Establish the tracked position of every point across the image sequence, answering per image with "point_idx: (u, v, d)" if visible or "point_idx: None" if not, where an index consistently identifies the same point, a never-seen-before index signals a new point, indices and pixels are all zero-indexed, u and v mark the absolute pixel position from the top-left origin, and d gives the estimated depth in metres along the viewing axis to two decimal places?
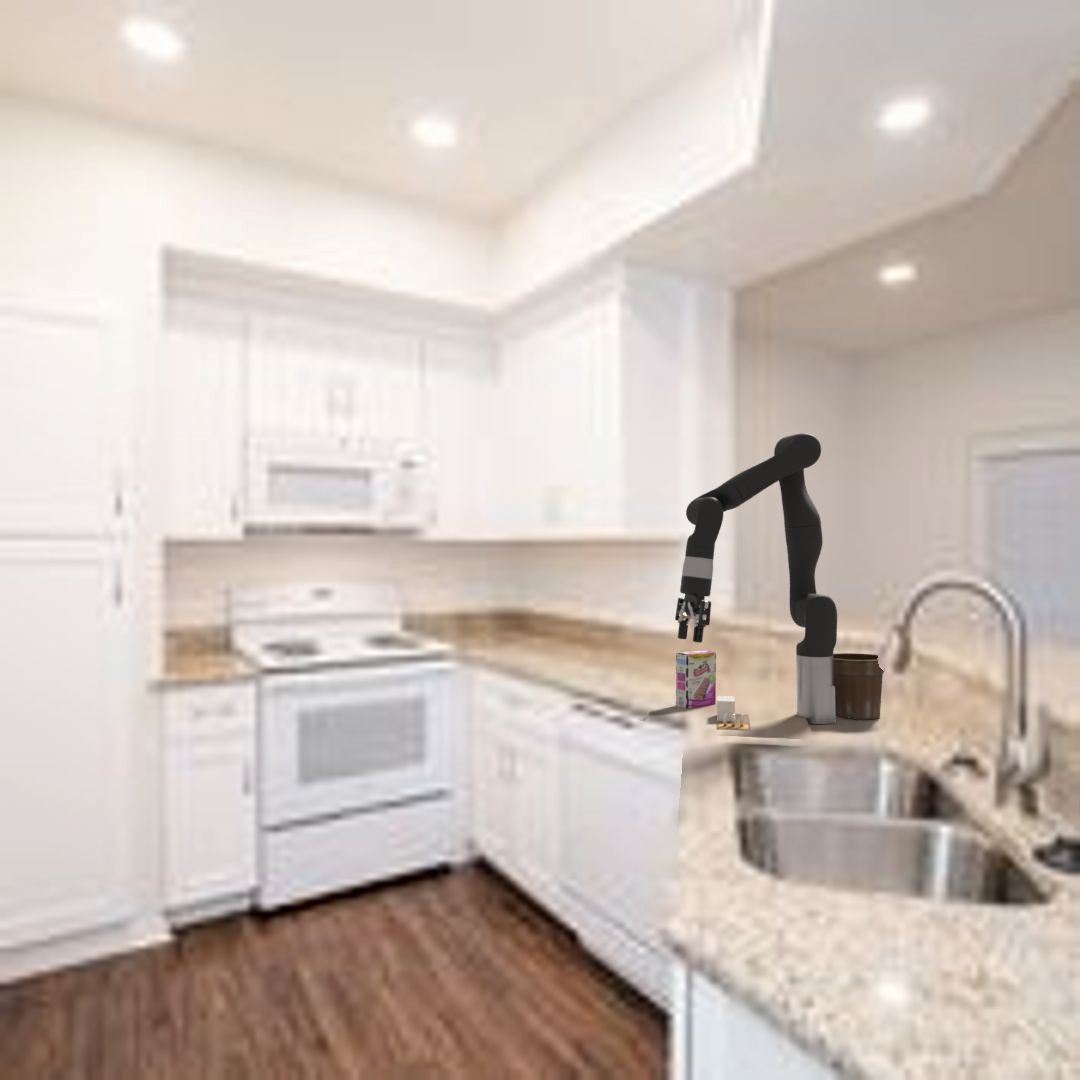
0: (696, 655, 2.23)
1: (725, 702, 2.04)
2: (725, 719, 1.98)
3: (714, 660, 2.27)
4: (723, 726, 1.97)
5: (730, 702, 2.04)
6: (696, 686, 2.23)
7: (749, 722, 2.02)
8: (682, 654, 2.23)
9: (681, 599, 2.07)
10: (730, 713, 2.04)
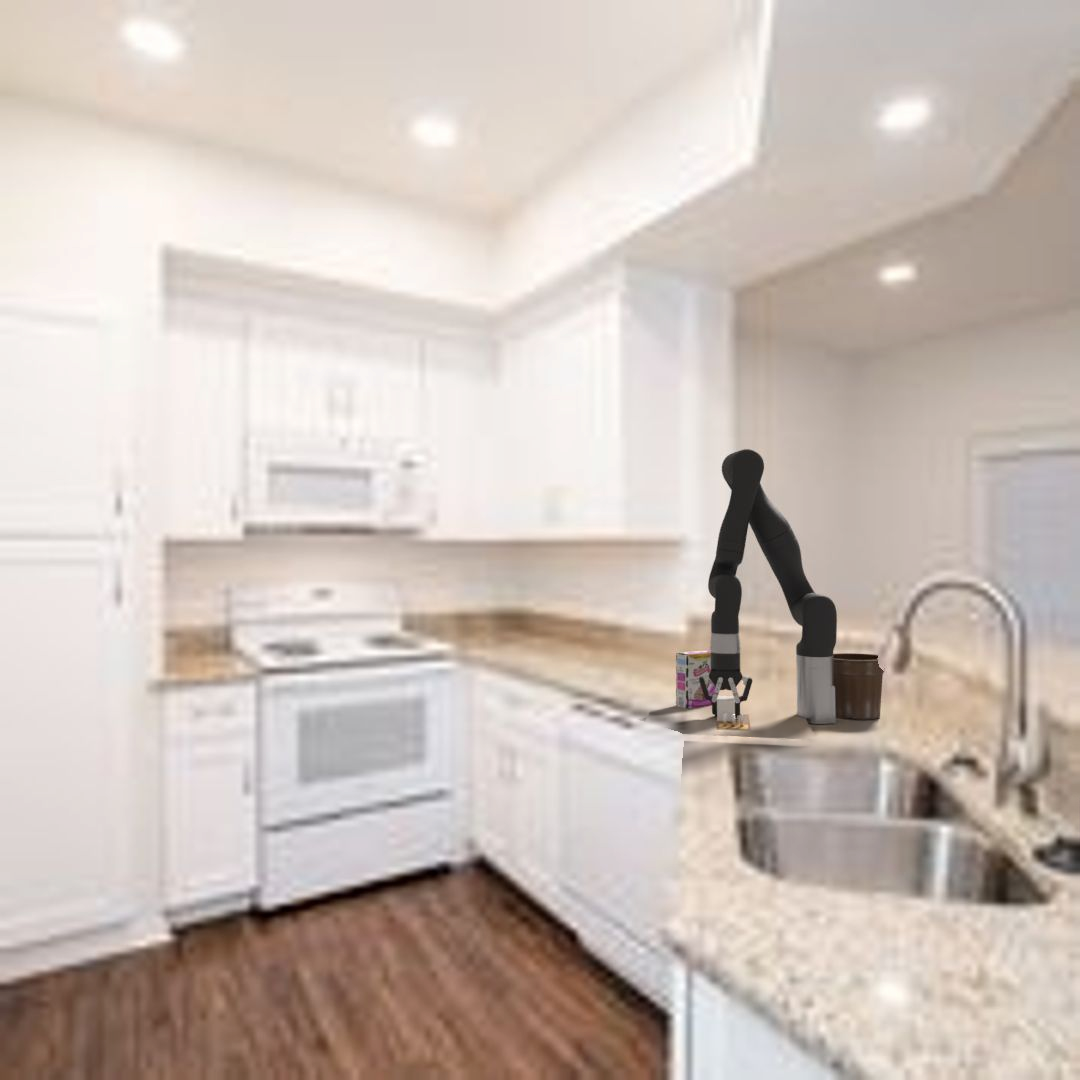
0: (696, 655, 2.23)
1: (725, 702, 2.04)
2: (725, 719, 1.98)
3: None
4: (723, 726, 1.97)
5: (730, 702, 2.04)
6: (696, 686, 2.23)
7: (749, 722, 2.02)
8: (682, 654, 2.23)
9: (703, 678, 2.08)
10: (730, 713, 2.04)
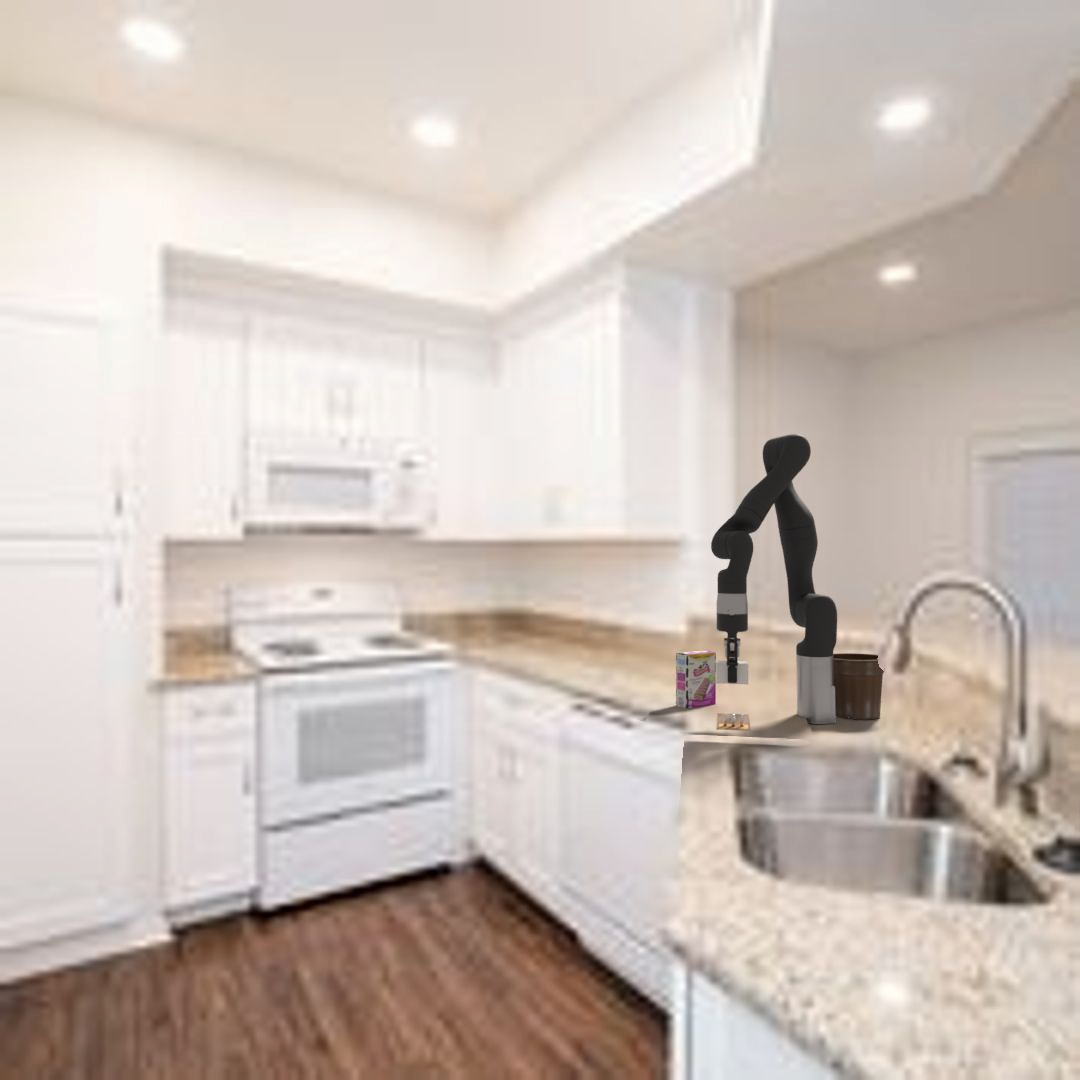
0: (696, 655, 2.23)
1: None
2: (725, 719, 1.98)
3: (714, 660, 2.27)
4: (723, 726, 1.97)
5: (747, 663, 1.98)
6: (696, 686, 2.23)
7: (749, 722, 2.02)
8: (682, 654, 2.23)
9: None
10: None
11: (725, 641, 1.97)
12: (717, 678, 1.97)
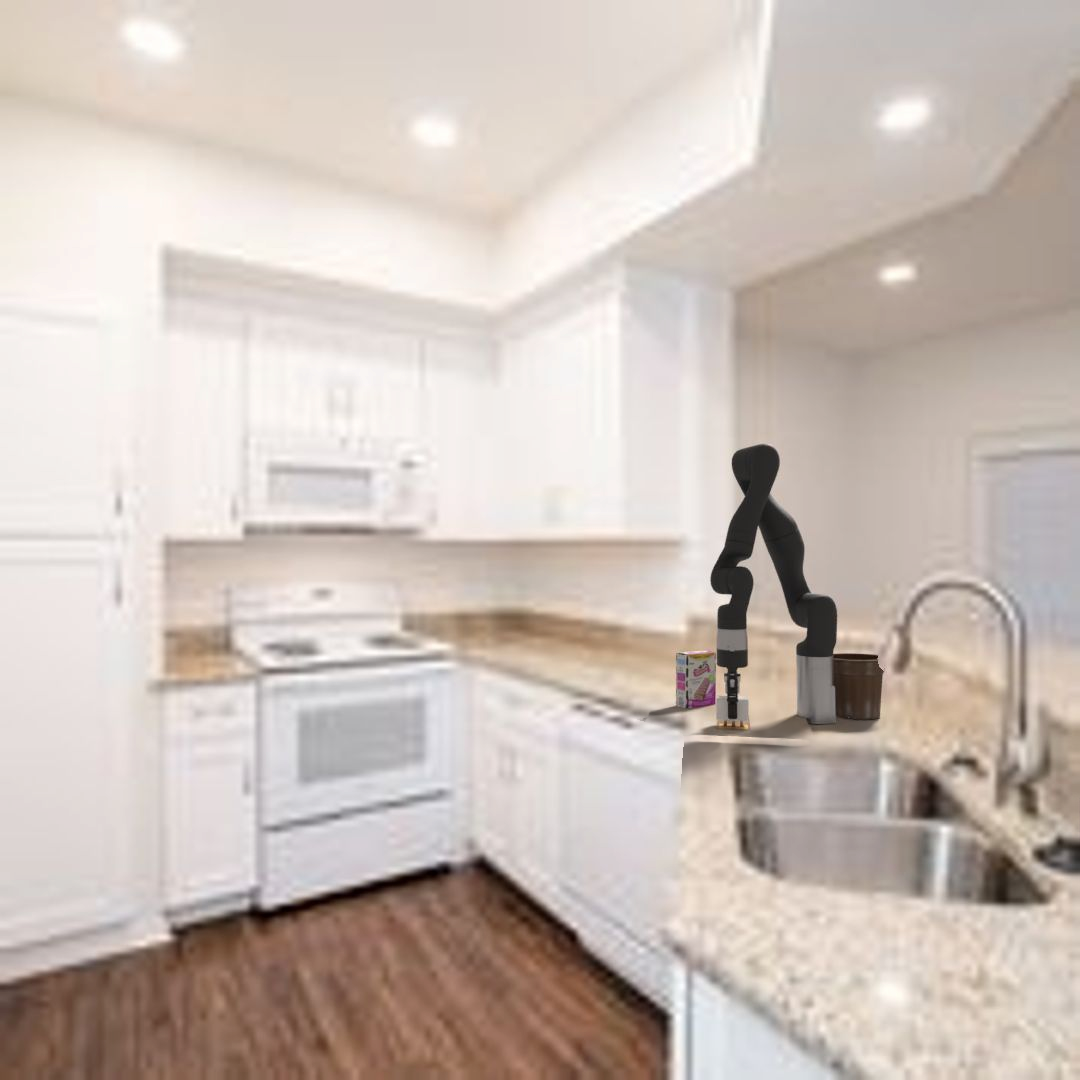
0: (696, 655, 2.23)
1: None
2: None
3: (714, 660, 2.27)
4: (723, 726, 1.97)
5: None
6: (696, 686, 2.23)
7: (749, 722, 2.02)
8: (682, 654, 2.23)
9: None
10: None
11: (725, 677, 1.96)
12: (717, 714, 1.96)
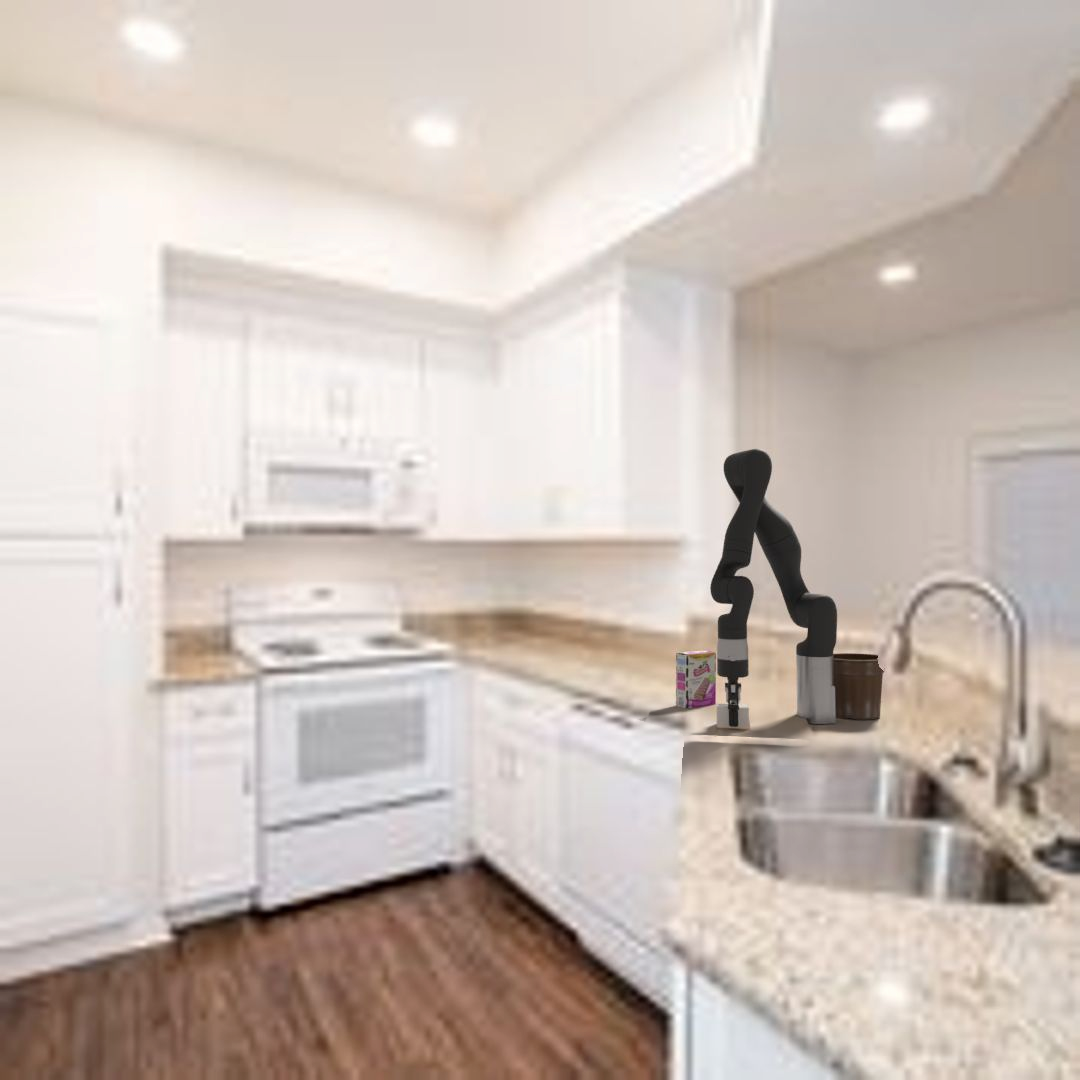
0: (696, 655, 2.23)
1: (748, 707, 1.97)
2: None
3: (714, 660, 2.27)
4: None
5: None
6: (696, 686, 2.23)
7: (749, 722, 2.02)
8: (682, 654, 2.23)
9: None
10: None
11: (726, 686, 1.96)
12: (718, 722, 1.96)
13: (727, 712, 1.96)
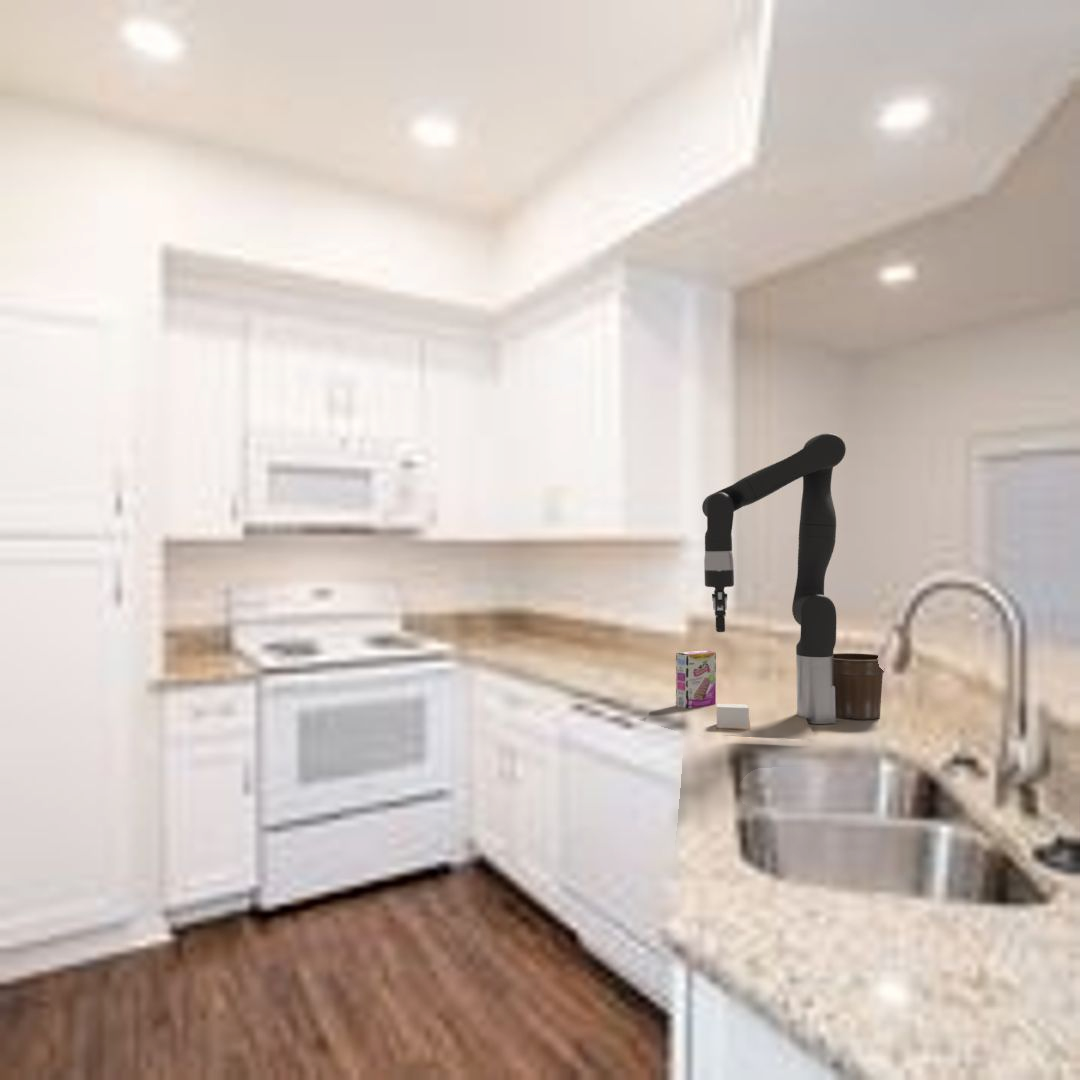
0: (696, 655, 2.23)
1: (748, 707, 1.97)
2: None
3: (714, 660, 2.27)
4: None
5: None
6: (696, 686, 2.23)
7: (749, 722, 2.02)
8: (682, 654, 2.23)
9: None
10: None
11: (713, 595, 2.10)
12: (718, 722, 1.96)
13: (727, 712, 1.96)
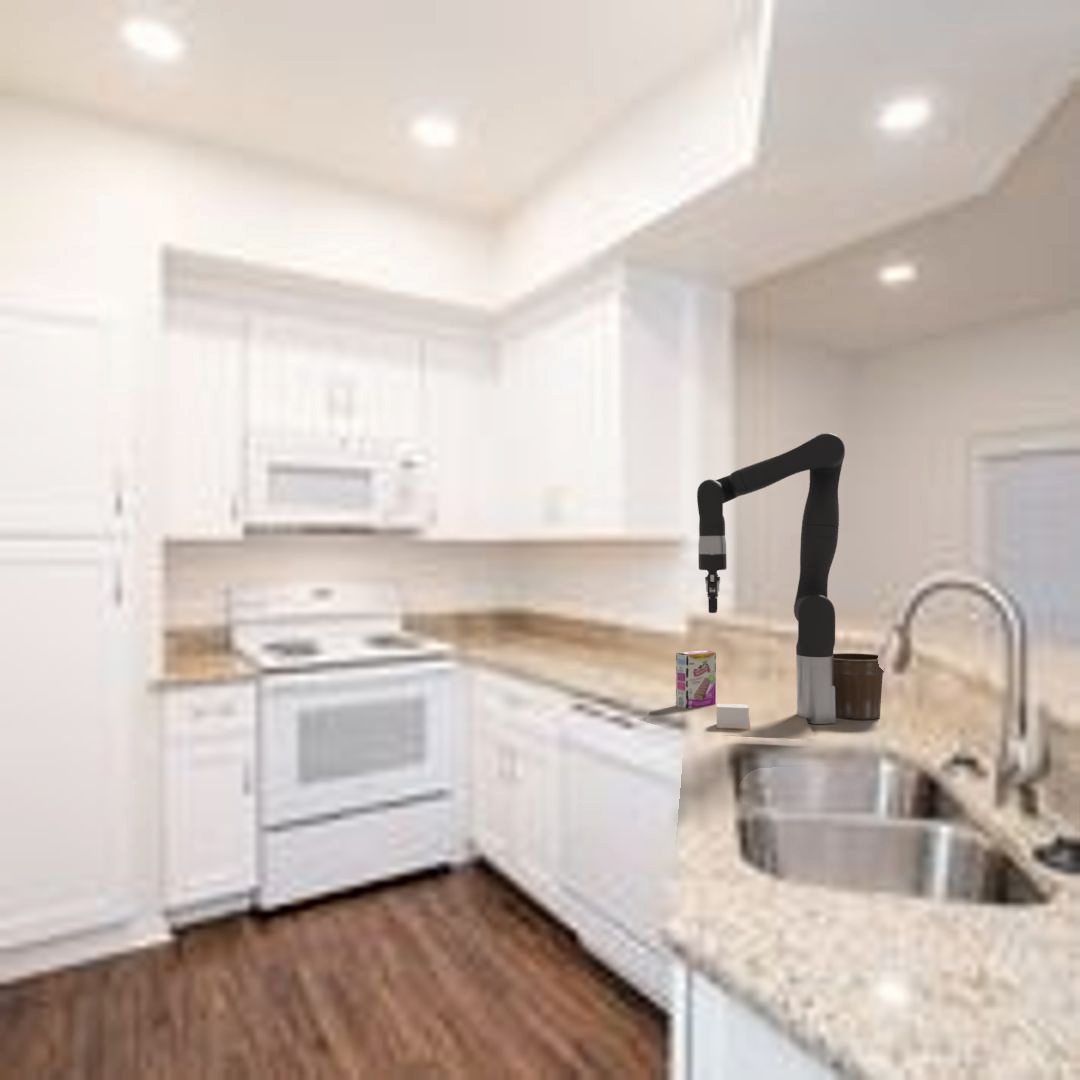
0: (696, 655, 2.23)
1: (748, 707, 1.97)
2: None
3: (714, 660, 2.27)
4: None
5: None
6: (696, 686, 2.23)
7: (749, 722, 2.02)
8: (682, 654, 2.23)
9: None
10: None
11: (706, 578, 2.19)
12: (718, 722, 1.96)
13: (727, 712, 1.96)
